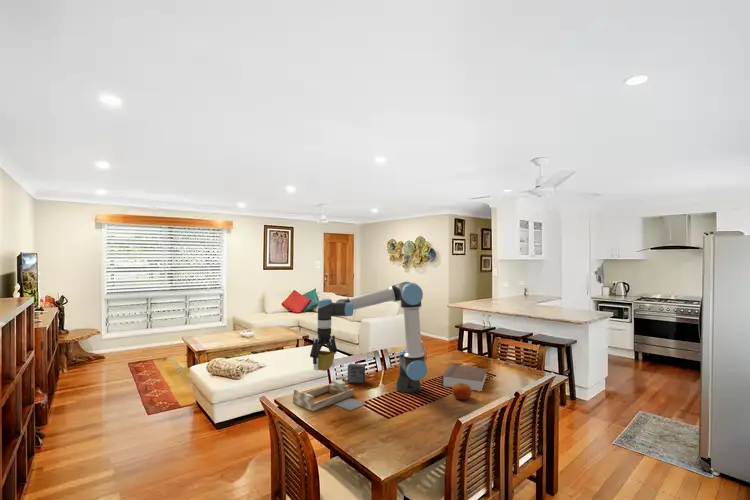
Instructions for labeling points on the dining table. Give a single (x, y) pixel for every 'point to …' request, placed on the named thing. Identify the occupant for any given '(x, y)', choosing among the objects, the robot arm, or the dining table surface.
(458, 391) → the fruit
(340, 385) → the offcut sage
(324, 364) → the flower pot
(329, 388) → the offcut walnut
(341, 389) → the offcut oak
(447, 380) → the book
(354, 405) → the felt mat
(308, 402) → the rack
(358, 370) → the small box
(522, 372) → the dining table surface
